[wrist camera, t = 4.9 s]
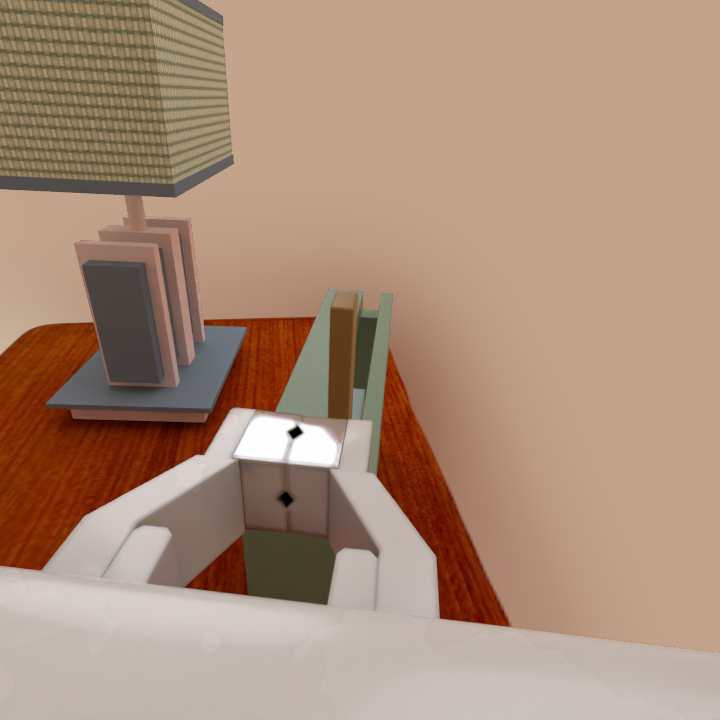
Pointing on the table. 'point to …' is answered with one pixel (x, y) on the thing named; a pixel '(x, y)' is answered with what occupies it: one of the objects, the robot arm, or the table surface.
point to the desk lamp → (125, 184)
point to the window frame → (310, 398)
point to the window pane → (343, 359)
